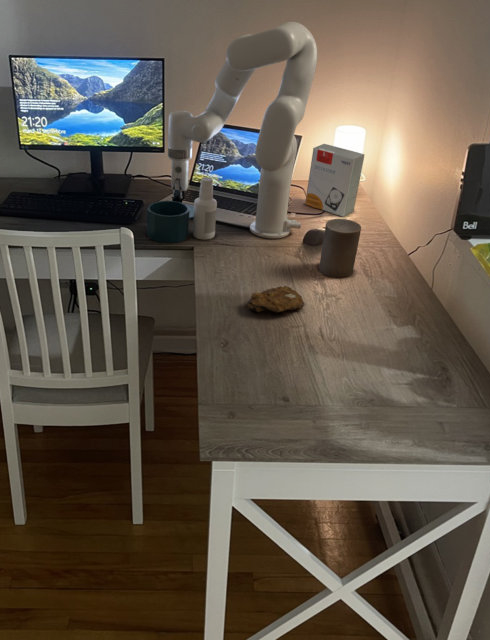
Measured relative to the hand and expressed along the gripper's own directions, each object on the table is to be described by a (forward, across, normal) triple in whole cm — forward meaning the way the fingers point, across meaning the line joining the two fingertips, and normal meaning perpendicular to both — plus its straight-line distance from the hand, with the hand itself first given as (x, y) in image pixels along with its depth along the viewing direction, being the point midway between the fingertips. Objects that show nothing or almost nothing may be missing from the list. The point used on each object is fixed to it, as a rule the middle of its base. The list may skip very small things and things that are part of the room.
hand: (178, 204), depth 222 cm
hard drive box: (+4, +14, -51) cm, 53 cm away
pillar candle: (+4, -34, -48) cm, 59 cm away
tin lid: (+3, 0, 0) cm, 3 cm away
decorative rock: (+4, -58, -30) cm, 65 cm away
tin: (+3, -17, +2) cm, 17 cm away
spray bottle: (+4, -16, -9) cm, 19 cm away
